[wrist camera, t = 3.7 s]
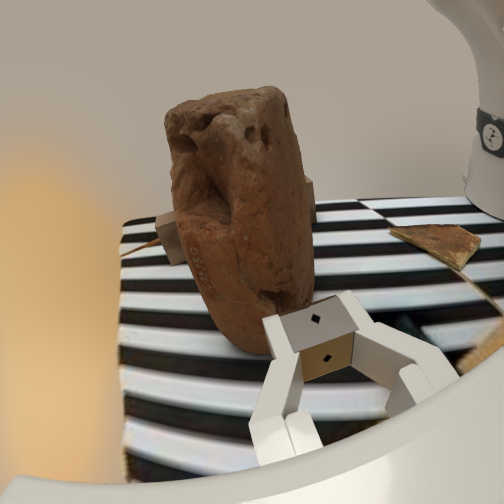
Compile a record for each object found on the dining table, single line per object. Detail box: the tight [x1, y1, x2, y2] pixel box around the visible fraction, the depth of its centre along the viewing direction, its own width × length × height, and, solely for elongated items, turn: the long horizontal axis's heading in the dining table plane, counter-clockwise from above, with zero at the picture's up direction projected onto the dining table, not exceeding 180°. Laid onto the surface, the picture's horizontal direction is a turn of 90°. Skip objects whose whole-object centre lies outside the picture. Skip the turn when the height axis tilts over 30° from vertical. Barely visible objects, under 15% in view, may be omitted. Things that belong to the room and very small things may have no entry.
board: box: [155, 176, 317, 266], centre depth 38 cm, size 20×3×6 cm, turn 103°
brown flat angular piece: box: [388, 224, 481, 271], centre depth 31 cm, size 11×8×2 cm
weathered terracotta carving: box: [164, 86, 314, 355], centre depth 22 cm, size 11×8×20 cm
